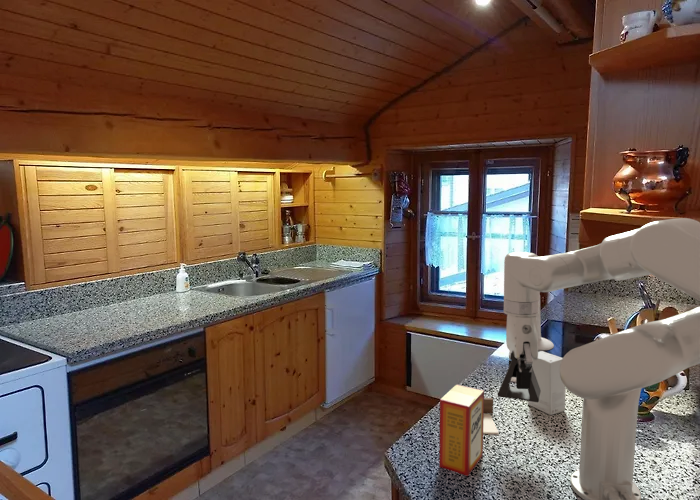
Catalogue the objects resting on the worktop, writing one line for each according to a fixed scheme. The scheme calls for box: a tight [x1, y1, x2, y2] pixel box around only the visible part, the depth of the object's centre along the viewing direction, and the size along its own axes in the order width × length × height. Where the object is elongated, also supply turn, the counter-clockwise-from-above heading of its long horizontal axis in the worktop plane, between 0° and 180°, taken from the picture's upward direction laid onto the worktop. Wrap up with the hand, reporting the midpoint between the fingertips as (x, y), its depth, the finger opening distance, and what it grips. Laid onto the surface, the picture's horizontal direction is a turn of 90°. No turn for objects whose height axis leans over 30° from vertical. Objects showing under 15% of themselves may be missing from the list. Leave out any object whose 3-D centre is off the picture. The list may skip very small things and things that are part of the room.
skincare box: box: [527, 350, 566, 416], centre depth 135 cm, size 8×6×15 cm
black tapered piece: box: [497, 351, 541, 402], centre depth 114 cm, size 9×6×12 cm, turn 65°
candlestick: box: [536, 292, 555, 351], centre depth 186 cm, size 13×13×30 cm
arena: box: [484, 397, 494, 414], centre depth 128 cm, size 13×10×4 cm
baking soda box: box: [438, 384, 485, 477], centre depth 110 cm, size 10×6×16 cm
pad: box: [483, 413, 499, 435], centre depth 127 cm, size 10×7×1 cm
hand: (519, 381), depth 115 cm, fingers closed on black tapered piece, 6 cm apart
